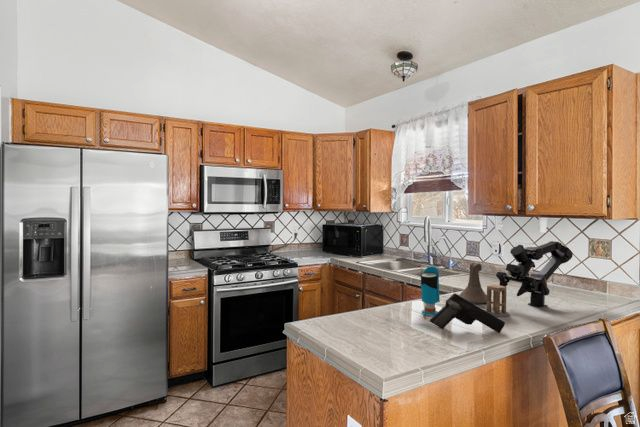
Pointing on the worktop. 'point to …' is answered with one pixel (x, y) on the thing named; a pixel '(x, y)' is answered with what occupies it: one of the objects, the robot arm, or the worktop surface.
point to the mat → (499, 314)
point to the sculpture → (474, 286)
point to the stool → (496, 298)
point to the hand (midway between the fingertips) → (508, 293)
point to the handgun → (465, 314)
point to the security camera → (430, 290)
